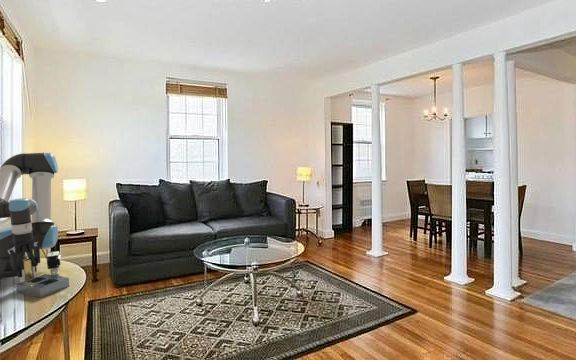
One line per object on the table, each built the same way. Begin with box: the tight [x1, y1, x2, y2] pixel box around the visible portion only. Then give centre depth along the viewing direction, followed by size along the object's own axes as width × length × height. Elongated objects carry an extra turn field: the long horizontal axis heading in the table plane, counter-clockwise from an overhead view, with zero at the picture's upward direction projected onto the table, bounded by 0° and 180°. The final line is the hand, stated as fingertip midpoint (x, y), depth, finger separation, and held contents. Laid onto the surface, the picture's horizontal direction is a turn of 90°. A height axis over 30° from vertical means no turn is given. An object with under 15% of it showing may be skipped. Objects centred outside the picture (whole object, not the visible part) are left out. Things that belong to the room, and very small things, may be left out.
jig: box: [15, 273, 70, 298], centre depth 162 cm, size 16×13×4 cm
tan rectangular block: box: [22, 257, 33, 281], centre depth 167 cm, size 4×4×12 cm
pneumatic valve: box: [46, 250, 63, 276], centre depth 180 cm, size 6×12×12 cm, turn 28°
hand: (28, 281), depth 167 cm, fingers closed on tan rectangular block, 4 cm apart
